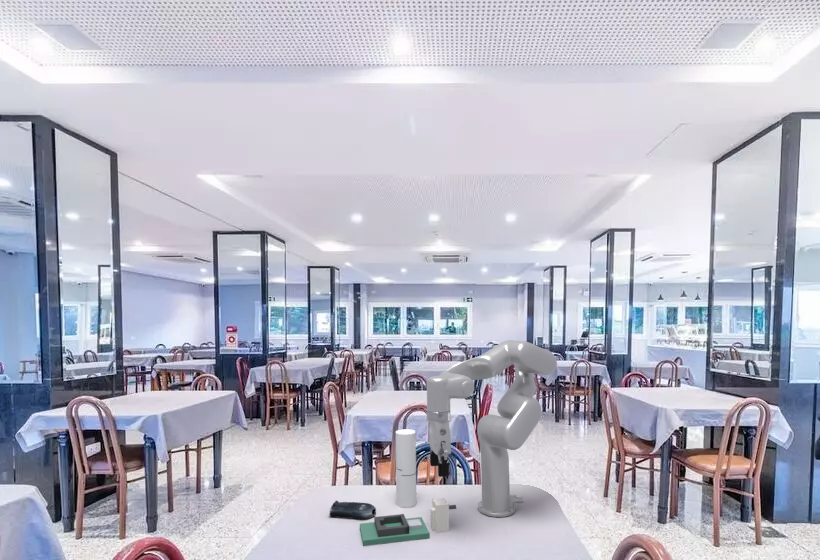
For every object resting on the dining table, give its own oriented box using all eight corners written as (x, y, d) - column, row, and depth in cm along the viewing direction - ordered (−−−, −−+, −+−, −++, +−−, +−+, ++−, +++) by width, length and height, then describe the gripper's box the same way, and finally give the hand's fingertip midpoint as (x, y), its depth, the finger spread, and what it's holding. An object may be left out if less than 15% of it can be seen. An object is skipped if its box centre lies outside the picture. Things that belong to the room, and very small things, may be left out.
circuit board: (421, 521, 146) (421, 510, 147) (429, 538, 136) (429, 526, 136) (359, 528, 142) (359, 517, 143) (363, 546, 132) (363, 533, 132)
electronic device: (328, 525, 149) (373, 520, 147) (327, 506, 150) (371, 502, 148) (337, 516, 158) (379, 512, 156) (335, 499, 159) (377, 494, 157)
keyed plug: (453, 522, 145) (453, 497, 146) (458, 530, 141) (458, 503, 141) (429, 525, 144) (429, 499, 144) (433, 532, 139) (433, 505, 140)
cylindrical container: (404, 497, 166) (403, 428, 167) (420, 502, 161) (419, 431, 163) (392, 504, 160) (391, 432, 162) (408, 509, 156) (407, 435, 157)
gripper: (458, 421, 137) (458, 479, 135) (442, 409, 154) (443, 461, 152) (434, 422, 135) (434, 481, 134) (421, 410, 152) (421, 462, 151)
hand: (439, 470), depth 143 cm, fingers open, 9 cm apart
